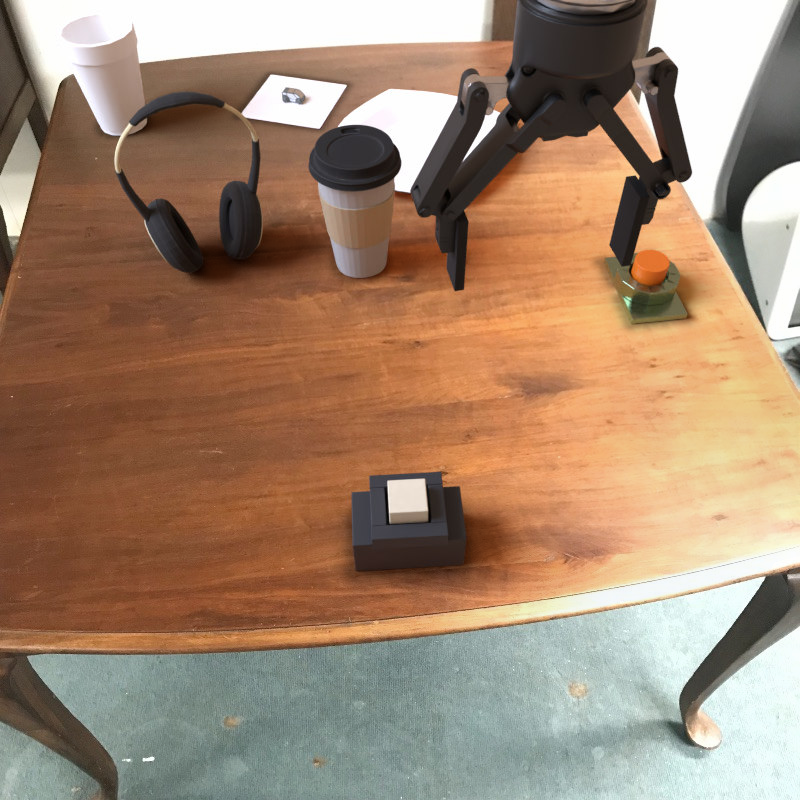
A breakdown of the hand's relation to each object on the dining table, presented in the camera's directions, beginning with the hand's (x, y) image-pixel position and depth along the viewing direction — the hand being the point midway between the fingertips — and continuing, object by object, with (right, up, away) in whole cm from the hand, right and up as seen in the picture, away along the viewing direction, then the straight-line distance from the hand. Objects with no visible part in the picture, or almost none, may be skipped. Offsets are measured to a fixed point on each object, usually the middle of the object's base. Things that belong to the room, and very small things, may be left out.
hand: (538, 267), depth 61 cm
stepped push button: (-10, -23, +4) cm, 25 cm away
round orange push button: (+16, +3, +22) cm, 27 cm away
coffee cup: (-15, +5, +27) cm, 32 cm away
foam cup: (-49, +28, +46) cm, 73 cm away
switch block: (+16, +2, +24) cm, 29 cm away
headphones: (-32, +6, +28) cm, 43 cm away
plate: (-8, +22, +41) cm, 48 cm away
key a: (-10, -19, 0) cm, 22 cm away
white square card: (-26, +32, +50) cm, 65 cm away
